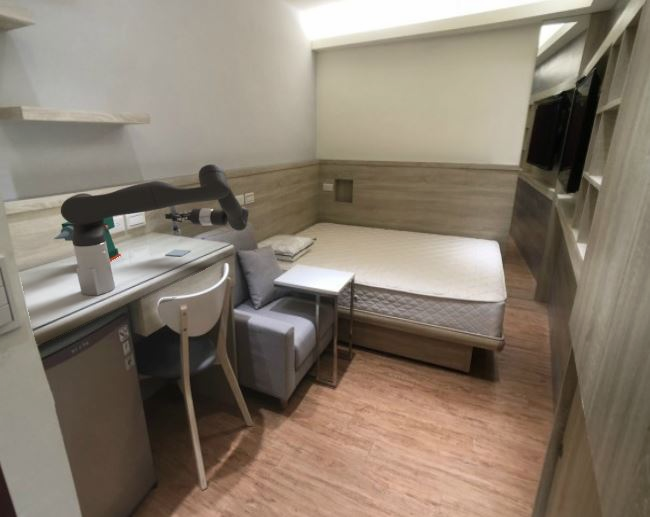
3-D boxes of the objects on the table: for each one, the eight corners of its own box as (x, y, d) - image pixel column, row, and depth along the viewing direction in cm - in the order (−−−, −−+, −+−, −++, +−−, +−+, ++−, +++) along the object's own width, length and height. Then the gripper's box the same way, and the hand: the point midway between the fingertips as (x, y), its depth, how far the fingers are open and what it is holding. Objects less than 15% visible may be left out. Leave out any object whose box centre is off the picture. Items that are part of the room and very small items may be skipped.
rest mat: (181, 256, 157) (181, 255, 157) (165, 255, 158) (165, 254, 158) (190, 251, 165) (190, 250, 164) (174, 250, 166) (174, 249, 165)
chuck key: (175, 236, 155) (171, 200, 150) (168, 235, 155) (163, 200, 150) (184, 232, 161) (179, 197, 156) (177, 232, 162) (172, 197, 157)
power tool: (74, 283, 127) (61, 230, 120) (55, 283, 127) (41, 230, 120) (122, 256, 157) (114, 212, 150) (106, 255, 157) (97, 212, 150)
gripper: (210, 205, 159) (175, 204, 161) (195, 211, 146) (157, 210, 148) (211, 221, 161) (177, 220, 164) (197, 228, 148) (159, 227, 151)
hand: (168, 215), depth 156 cm, fingers closed on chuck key, 2 cm apart
